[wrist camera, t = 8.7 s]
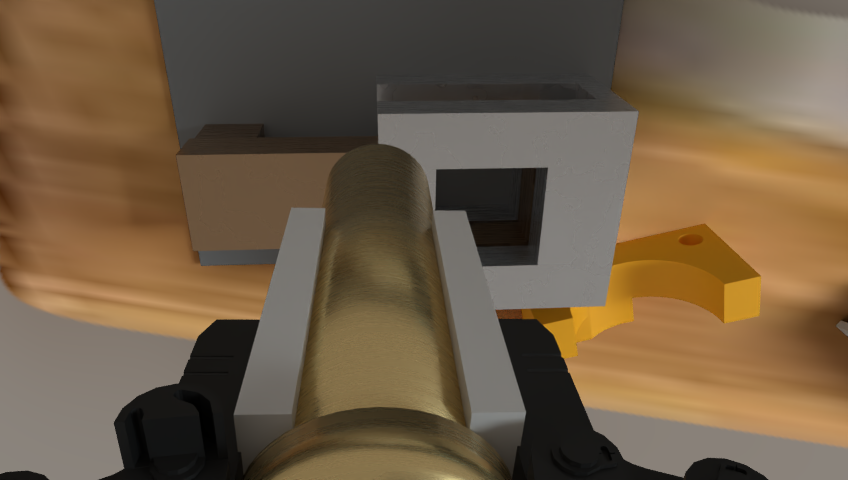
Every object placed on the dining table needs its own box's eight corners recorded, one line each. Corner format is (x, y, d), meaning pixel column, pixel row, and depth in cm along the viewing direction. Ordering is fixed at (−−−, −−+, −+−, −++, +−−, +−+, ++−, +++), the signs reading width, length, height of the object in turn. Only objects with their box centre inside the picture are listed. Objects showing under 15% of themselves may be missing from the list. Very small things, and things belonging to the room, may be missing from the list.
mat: (125, -185, 27) (121, -186, 27) (645, -173, 29) (650, -174, 28) (202, 261, 37) (200, 265, 37) (583, 251, 39) (585, 255, 38)
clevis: (192, 76, 32) (149, 116, 26) (589, 74, 33) (638, 111, 27) (220, 250, 36) (189, 319, 30) (567, 241, 38) (605, 306, 32)
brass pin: (308, 129, 17) (198, 475, 7) (446, 130, 18) (549, 466, 7) (314, 250, 19) (236, 676, 8) (439, 250, 19) (514, 663, 9)
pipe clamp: (523, 321, 41) (547, 387, 35) (513, 265, 39) (537, 325, 33) (704, 280, 41) (758, 340, 35) (703, 222, 39) (761, 276, 33)
